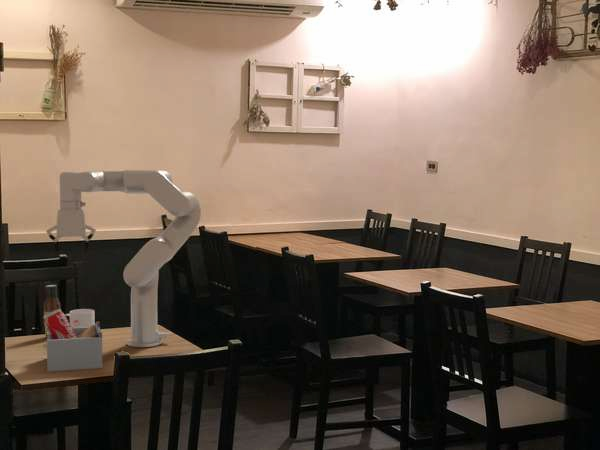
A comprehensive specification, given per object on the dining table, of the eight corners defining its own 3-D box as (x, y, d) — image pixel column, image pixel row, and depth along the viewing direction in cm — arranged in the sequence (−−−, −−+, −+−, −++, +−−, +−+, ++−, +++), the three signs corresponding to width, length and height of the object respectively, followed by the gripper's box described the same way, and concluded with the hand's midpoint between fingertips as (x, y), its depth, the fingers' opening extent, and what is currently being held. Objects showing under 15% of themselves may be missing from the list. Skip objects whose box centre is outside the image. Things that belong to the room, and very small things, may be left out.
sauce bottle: (63, 335, 305) (62, 283, 303) (61, 338, 299) (60, 286, 297) (45, 335, 304) (44, 284, 302) (43, 339, 298) (42, 286, 296)
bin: (99, 354, 275) (99, 321, 274) (102, 367, 257) (102, 332, 257) (48, 358, 270) (47, 324, 269) (47, 371, 253) (46, 335, 252)
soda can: (70, 347, 257) (53, 315, 255) (54, 352, 260) (36, 320, 258) (82, 337, 264) (65, 305, 261) (66, 342, 267) (49, 311, 264)
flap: (95, 326, 272) (93, 323, 272) (97, 335, 258) (95, 332, 257) (61, 347, 269) (59, 344, 269) (61, 358, 255) (59, 355, 255)
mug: (98, 338, 299) (98, 309, 299) (88, 344, 291) (88, 314, 290) (69, 337, 302) (68, 308, 301) (57, 342, 293) (57, 312, 292)
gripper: (94, 204, 296) (95, 250, 297) (46, 205, 291) (46, 251, 292) (95, 206, 288) (96, 252, 290) (45, 206, 283) (46, 254, 285)
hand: (71, 252), depth 291 cm, fingers open, 9 cm apart
